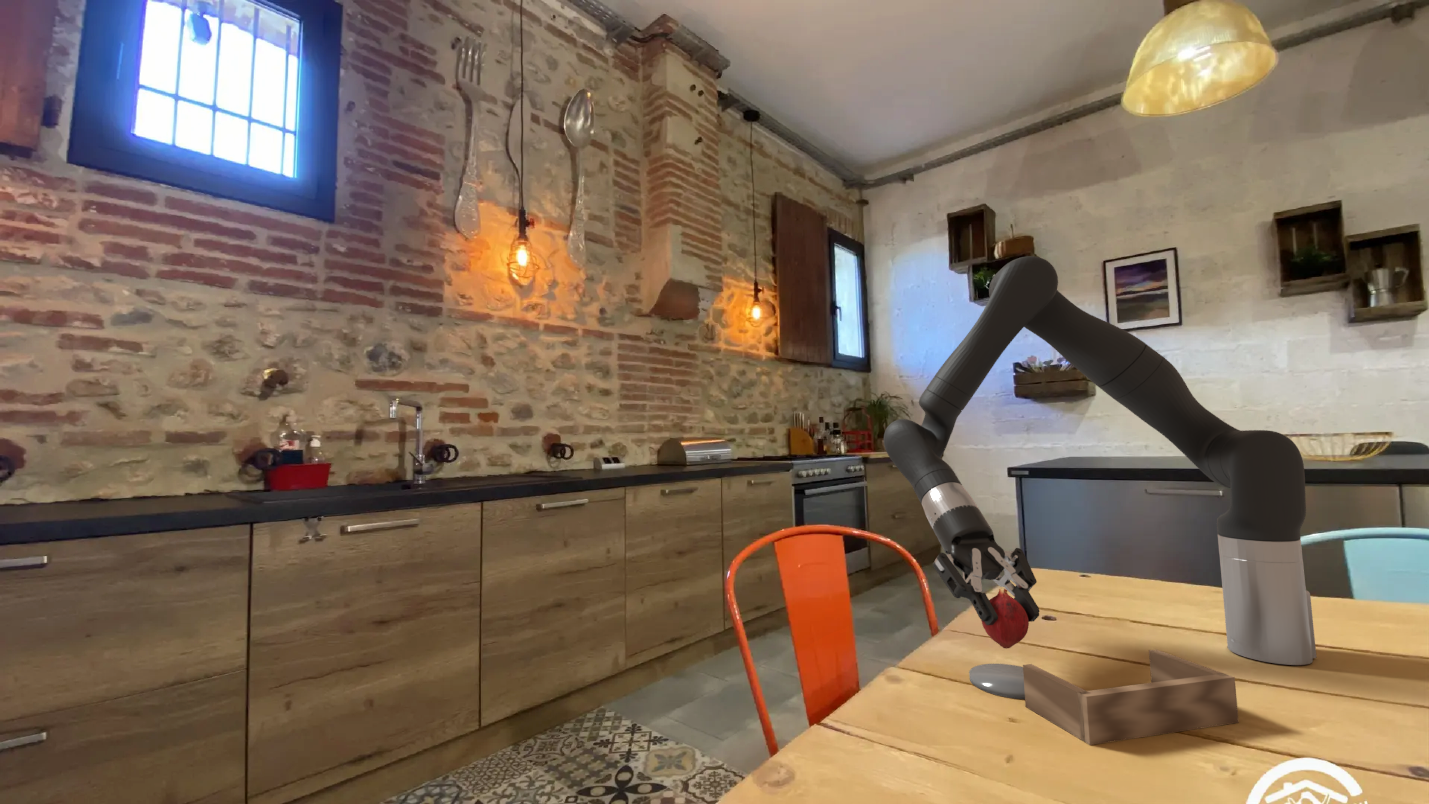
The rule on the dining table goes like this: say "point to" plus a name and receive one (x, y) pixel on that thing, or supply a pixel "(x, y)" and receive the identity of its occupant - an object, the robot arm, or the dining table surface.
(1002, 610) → the onion
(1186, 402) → the robot arm
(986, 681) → the stone
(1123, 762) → the dining table surface
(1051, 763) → the dining table surface
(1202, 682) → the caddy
